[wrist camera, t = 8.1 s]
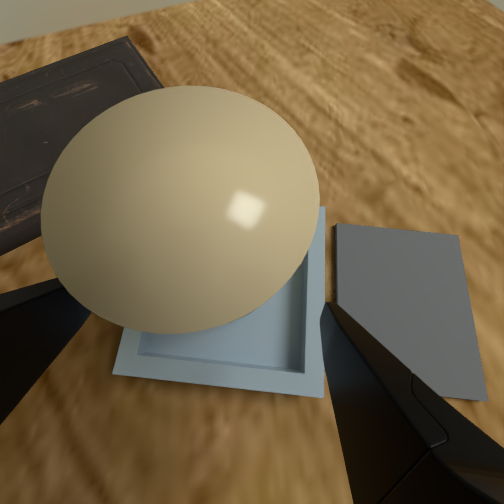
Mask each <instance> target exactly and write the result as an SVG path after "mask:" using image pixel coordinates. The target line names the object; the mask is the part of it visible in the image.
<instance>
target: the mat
mask: <svg viewBox="0 0 504 504" xmlns="http://www.w3.org/2000/svg"><path fill="white" fill-rule="evenodd" d="M335 258H336V303H337V304H338V305H339V306H340V307H341V308H343V309H344V310H345V311H346V312H347V313H348V314H349V315H350V316H351V317H352V318H354V319H355V320H356V321H357V322H358V323H359V324H360V325H361V326H362V327H364V328H365V329H366V330H367V331H368V332H369V333H370V334H371V335H372V336H374V337H375V338H376V339H377V340H378V341H379V342H380V343H381V344H382V345H383V346H385V347H386V348H387V349H388V350H389V351H390V352H391V353H392V354H393V355H395V356H396V357H397V358H398V359H399V360H400V361H401V362H402V363H403V364H404V365H406V366H407V367H408V368H409V369H410V370H411V371H412V373H414V374H416V375H417V376H418V377H419V378H420V379H421V380H422V381H423V382H425V383H426V384H427V385H428V386H429V387H430V388H431V389H432V390H434V391H435V392H436V393H437V394H438V395H439V396H443V397H452V398H461V399H470V400H479V401H487V402H488V397H487V391H486V386H485V380H484V375H483V369H482V364H481V358H480V353H479V347H478V342H477V336H476V331H475V325H474V320H473V314H472V309H471V303H470V298H469V292H468V287H467V281H466V276H465V270H464V265H463V259H462V254H461V248H460V243H459V237H458V235H450V234H440V233H430V232H420V231H410V230H400V229H390V228H380V227H370V226H360V225H350V224H340V223H337V224H336V225H335Z"/></svg>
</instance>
